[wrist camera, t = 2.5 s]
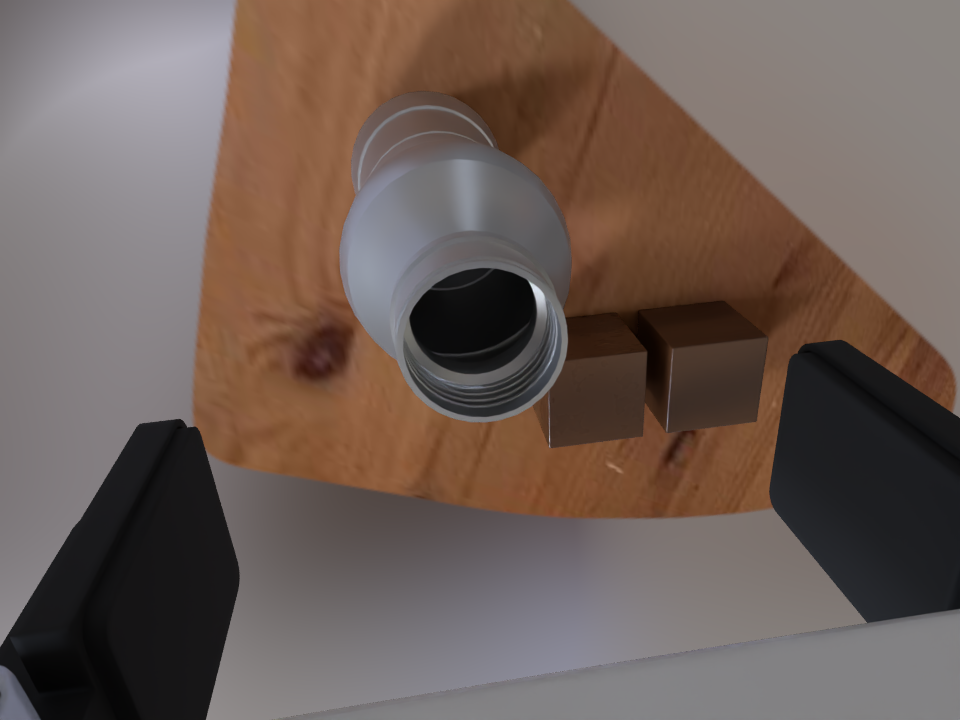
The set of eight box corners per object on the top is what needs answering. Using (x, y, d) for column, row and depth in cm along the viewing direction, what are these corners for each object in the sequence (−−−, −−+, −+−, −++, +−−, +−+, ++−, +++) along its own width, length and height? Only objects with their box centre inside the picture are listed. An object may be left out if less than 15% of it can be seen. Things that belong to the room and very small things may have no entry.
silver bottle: (457, 59, 30) (572, 116, 12) (515, 199, 33) (674, 408, 15) (326, 123, 30) (251, 269, 13) (395, 255, 33) (413, 522, 16)
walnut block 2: (638, 310, 37) (672, 348, 32) (724, 300, 37) (769, 337, 33) (634, 388, 39) (666, 433, 34) (715, 378, 39) (757, 422, 35)
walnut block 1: (527, 322, 36) (547, 362, 32) (616, 312, 36) (647, 351, 32) (530, 400, 38) (549, 448, 34) (614, 390, 39) (643, 436, 34)
